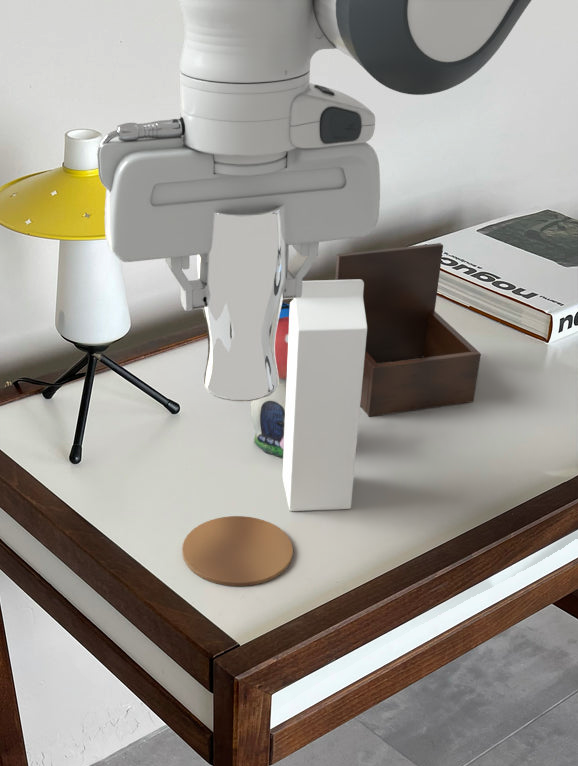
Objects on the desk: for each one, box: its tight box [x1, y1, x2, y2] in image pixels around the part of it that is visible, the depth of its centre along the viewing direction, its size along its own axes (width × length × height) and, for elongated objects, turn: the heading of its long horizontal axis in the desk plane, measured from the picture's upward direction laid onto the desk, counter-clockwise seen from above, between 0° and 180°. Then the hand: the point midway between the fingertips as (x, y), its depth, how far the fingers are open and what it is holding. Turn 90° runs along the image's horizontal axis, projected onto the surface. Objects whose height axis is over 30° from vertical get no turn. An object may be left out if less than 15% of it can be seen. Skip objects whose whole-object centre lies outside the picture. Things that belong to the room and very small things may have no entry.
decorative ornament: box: [250, 317, 289, 459], centre depth 103 cm, size 9×6×15 cm
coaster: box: [181, 515, 294, 587], centre depth 92 cm, size 10×10×1 cm
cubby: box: [334, 242, 482, 417], centre depth 114 cm, size 13×13×14 cm
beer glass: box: [195, 205, 290, 403], centre depth 78 cm, size 7×7×15 cm
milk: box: [282, 279, 367, 512], centre depth 93 cm, size 6×6×22 cm
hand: (241, 301), depth 78 cm, fingers closed on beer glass, 6 cm apart
